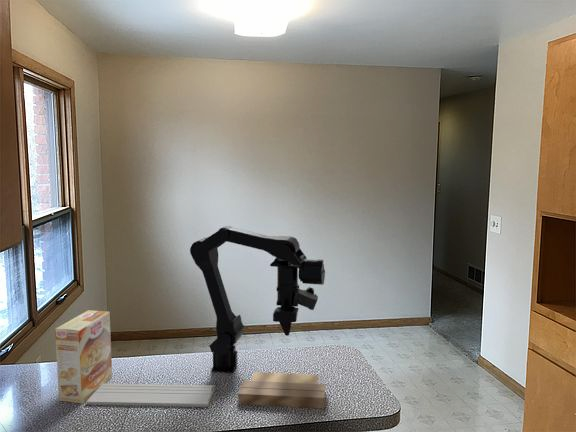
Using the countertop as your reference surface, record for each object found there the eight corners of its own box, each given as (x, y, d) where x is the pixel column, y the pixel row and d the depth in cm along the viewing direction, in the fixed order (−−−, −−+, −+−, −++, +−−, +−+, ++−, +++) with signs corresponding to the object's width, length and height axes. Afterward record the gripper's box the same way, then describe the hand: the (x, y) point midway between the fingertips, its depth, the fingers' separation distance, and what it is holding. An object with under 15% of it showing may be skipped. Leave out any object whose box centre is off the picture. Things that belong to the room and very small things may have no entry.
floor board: (238, 404, 119) (238, 393, 119) (244, 387, 128) (244, 377, 127) (324, 408, 117) (324, 397, 117) (324, 391, 126) (325, 381, 125)
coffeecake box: (83, 404, 119) (79, 330, 116) (57, 401, 120) (52, 328, 117) (113, 376, 133) (110, 310, 131) (90, 374, 135) (87, 309, 132)
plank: (251, 391, 126) (251, 381, 126) (254, 381, 131) (254, 372, 131) (317, 394, 125) (318, 384, 124) (318, 384, 130) (318, 374, 130)
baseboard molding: (106, 384, 130) (86, 407, 119) (105, 374, 130) (86, 396, 118) (216, 386, 130) (208, 409, 118) (216, 376, 129) (208, 398, 117)
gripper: (315, 292, 122) (314, 349, 124) (316, 274, 140) (316, 324, 142) (272, 291, 122) (272, 348, 125) (279, 273, 141) (279, 323, 143)
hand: (287, 335), depth 134 cm, fingers closed
